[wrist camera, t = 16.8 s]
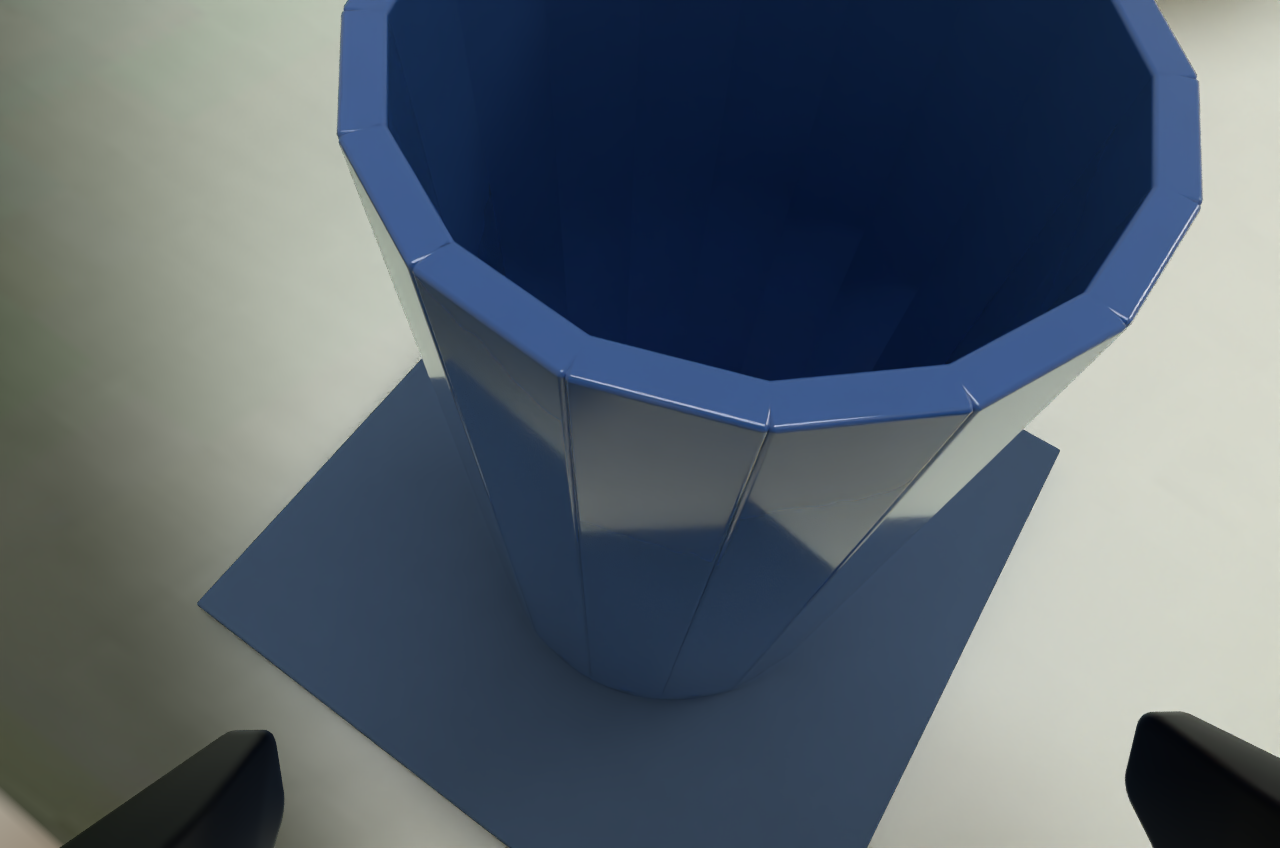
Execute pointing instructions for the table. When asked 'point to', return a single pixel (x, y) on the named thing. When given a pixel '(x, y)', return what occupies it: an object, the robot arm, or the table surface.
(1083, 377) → the table surface
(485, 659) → the blue mat
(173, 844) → the robot arm
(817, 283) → the blue cup
